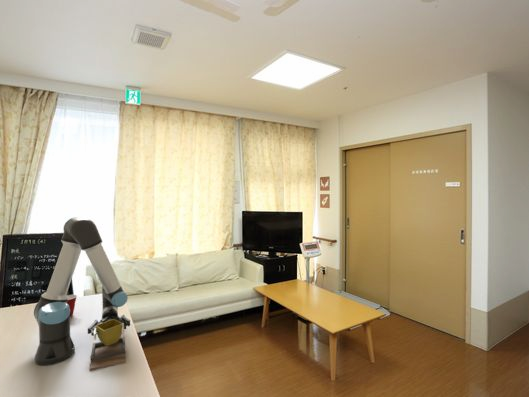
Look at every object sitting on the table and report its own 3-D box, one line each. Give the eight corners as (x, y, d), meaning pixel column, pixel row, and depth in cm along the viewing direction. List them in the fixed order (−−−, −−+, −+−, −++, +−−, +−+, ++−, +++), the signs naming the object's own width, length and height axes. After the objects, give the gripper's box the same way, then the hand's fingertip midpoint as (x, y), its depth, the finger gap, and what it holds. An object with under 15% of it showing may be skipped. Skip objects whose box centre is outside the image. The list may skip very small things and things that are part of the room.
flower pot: (104, 349, 136) (103, 330, 135) (95, 343, 141) (95, 325, 140) (123, 341, 143) (122, 323, 142) (114, 336, 148) (113, 318, 147)
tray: (125, 362, 133) (125, 357, 133) (89, 371, 127) (89, 365, 127) (124, 341, 151) (124, 337, 151) (92, 348, 145) (92, 343, 145)
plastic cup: (73, 311, 188) (73, 292, 188) (80, 315, 181) (80, 296, 181) (53, 316, 180) (53, 297, 179) (59, 322, 173) (59, 301, 173)
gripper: (134, 318, 163) (136, 336, 143) (84, 327, 152) (79, 348, 133) (133, 304, 163) (136, 320, 143) (84, 313, 152) (79, 331, 132)
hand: (109, 334), depth 138 cm, fingers closed on flower pot, 11 cm apart
